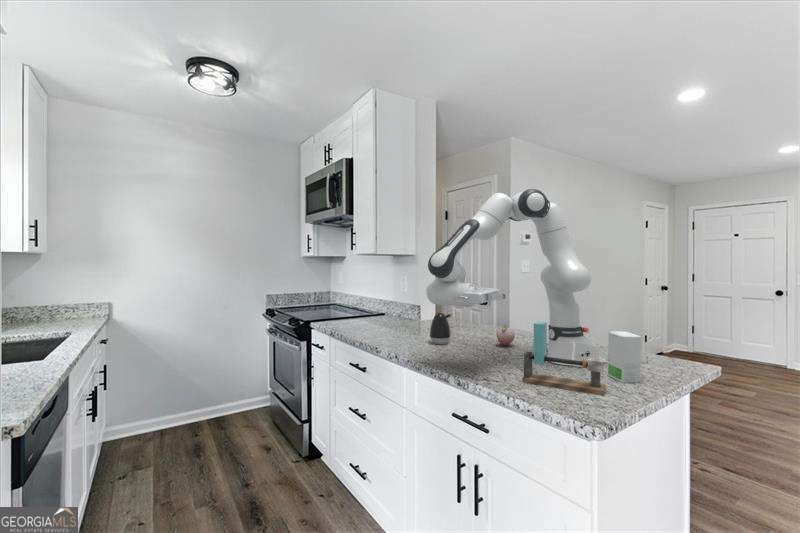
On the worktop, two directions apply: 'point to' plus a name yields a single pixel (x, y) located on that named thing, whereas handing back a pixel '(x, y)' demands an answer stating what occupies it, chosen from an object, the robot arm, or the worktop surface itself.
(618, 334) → the skincare box
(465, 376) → the worktop surface
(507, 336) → the decorative fruit
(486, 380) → the worktop surface
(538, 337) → the teal rectangular block
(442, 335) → the pump dispenser
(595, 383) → the wooden rod holder
